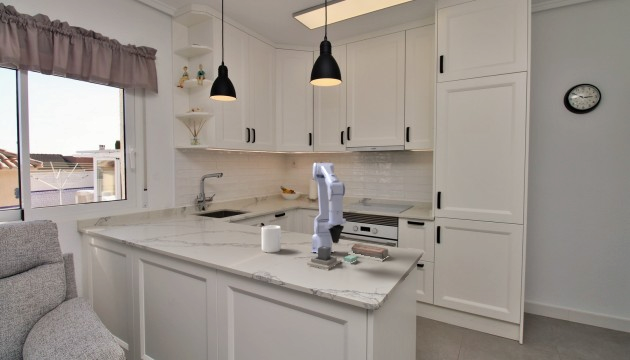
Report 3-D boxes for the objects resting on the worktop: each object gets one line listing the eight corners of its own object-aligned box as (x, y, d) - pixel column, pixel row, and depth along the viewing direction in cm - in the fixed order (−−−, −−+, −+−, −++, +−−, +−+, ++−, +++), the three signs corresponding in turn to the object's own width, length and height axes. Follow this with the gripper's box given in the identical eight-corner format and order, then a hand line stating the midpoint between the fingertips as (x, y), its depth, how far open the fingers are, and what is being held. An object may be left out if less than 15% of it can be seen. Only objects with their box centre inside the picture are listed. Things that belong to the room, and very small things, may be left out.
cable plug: (344, 262, 134) (344, 257, 134) (351, 259, 139) (351, 254, 138) (350, 264, 132) (350, 258, 132) (357, 261, 136) (358, 255, 136)
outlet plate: (307, 265, 130) (307, 259, 129) (322, 258, 140) (322, 252, 139) (327, 270, 124) (327, 263, 124) (341, 262, 134) (341, 256, 134)
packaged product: (390, 247, 143) (382, 252, 135) (390, 257, 144) (382, 262, 135) (355, 241, 153) (346, 245, 145) (355, 250, 154) (346, 255, 145)
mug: (270, 254, 145) (270, 230, 144) (254, 249, 153) (254, 226, 152) (284, 250, 152) (284, 226, 152) (268, 245, 160) (268, 223, 159)
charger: (317, 261, 131) (317, 247, 131) (322, 259, 134) (322, 245, 134) (325, 263, 129) (325, 249, 128) (330, 260, 132) (330, 247, 132)
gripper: (335, 214, 120) (335, 248, 121) (352, 209, 132) (351, 240, 133) (320, 212, 124) (320, 245, 125) (337, 208, 136) (337, 238, 137)
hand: (335, 242), depth 129 cm, fingers closed
